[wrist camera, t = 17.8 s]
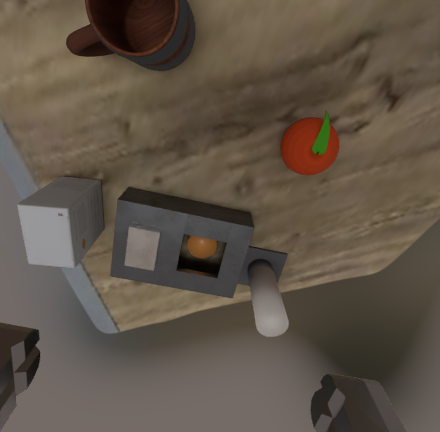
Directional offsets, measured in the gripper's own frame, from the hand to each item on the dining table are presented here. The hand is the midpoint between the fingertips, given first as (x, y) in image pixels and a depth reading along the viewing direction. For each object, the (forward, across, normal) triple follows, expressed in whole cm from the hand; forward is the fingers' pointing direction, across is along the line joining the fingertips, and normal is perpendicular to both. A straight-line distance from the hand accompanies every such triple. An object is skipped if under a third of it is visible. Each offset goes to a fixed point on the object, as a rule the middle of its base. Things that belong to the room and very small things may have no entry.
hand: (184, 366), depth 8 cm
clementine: (+34, -12, -3) cm, 37 cm away
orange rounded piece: (+34, -2, +15) cm, 37 cm away
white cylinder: (+34, -12, +18) cm, 40 cm away
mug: (+34, +10, -11) cm, 37 cm away
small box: (+34, +16, +12) cm, 40 cm away
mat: (+34, -12, +18) cm, 40 cm away
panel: (+34, +1, +14) cm, 37 cm away
